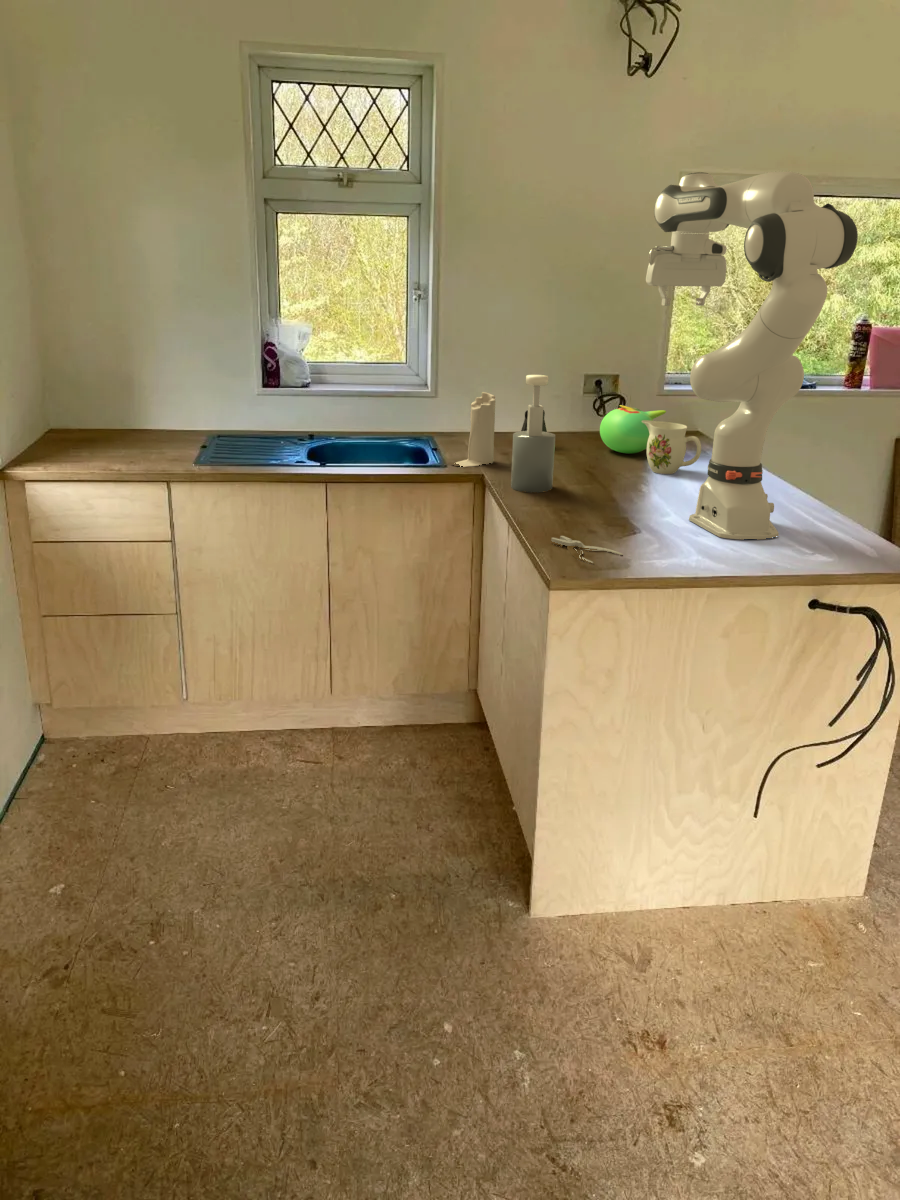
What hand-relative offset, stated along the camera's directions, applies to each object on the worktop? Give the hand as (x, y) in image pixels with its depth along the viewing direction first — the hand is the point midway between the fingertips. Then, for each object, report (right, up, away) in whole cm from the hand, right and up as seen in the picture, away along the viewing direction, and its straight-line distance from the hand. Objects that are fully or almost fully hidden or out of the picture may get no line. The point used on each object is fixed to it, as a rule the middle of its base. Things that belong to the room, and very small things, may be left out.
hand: (682, 305), depth 231 cm
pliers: (-30, -64, -34) cm, 78 cm away
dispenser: (-36, -44, +15) cm, 59 cm away
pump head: (-36, -25, +8) cm, 45 cm away
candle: (-52, -34, +40) cm, 74 cm away
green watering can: (-3, -28, +58) cm, 64 cm away
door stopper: (-32, -25, +62) cm, 75 cm away
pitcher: (+4, -37, +34) cm, 51 cm away
